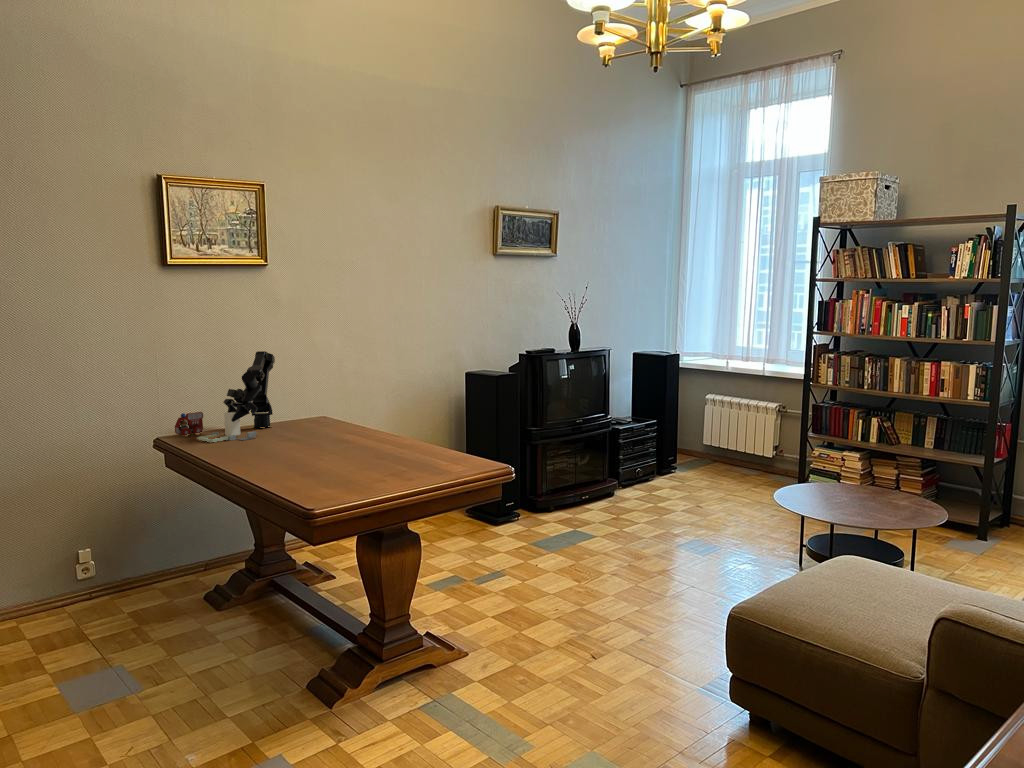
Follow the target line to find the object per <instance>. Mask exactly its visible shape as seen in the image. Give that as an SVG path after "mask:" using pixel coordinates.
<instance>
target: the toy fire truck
mask: <svg viewBox="0 0 1024 768" xmlns="http://www.w3.org/2000/svg"><path fill="white" fill-rule="evenodd" d="M203 418H204V413H203V412H202V411H198V412H197V411H196V412H189V413H181V414H180V417H178V418H177V420H176V422H175V425H174V432H175V434H176V435H179V436H182V435H187V434H190V435H191V434H192V433H200V432H202V433H203V430H204V423H203V421H204V420H203Z"/></svg>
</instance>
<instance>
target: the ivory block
mask: <svg viewBox="0 0 1024 768" xmlns="http://www.w3.org/2000/svg"><path fill="white" fill-rule="evenodd" d="M227 412H228V411H227ZM227 412H223V420H224V433H225V435H224V436H230V435H236V436H241V423H240V422H241V418H239V419H238V420H236V421H234V422H232V421H231V420H232V418H233V416H234V415H235V413H236V412H228V413H227Z"/></svg>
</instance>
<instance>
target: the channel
mask: <svg viewBox="0 0 1024 768" xmlns="http://www.w3.org/2000/svg"><path fill="white" fill-rule="evenodd" d="M213 434H217V435H219V431H215V432H211V433H210V435H213ZM228 437H229V440H228V441H230V440H231V441H236V440H238V441H243V442H245V441H249V440H255V439H256V437H257V431H250V432H246V437H239V438H237V435H230V436H228Z"/></svg>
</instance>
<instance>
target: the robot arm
mask: <svg viewBox="0 0 1024 768" xmlns="http://www.w3.org/2000/svg"><path fill="white" fill-rule="evenodd" d="M275 361H276V360H275V355H274V354H272V353H269V352H268V351H263V350H261V351H255V354H254V359H253V362H252V365H251V366H249V367H248V368H247V369H246V372H244V373H243V374H242V375H241V380H242V383H243V385H244V387H245V388H244V389H242V388H236V389H234V388H228V390H227V393H226V396H227V397H230V398H225V399H224V401H223V404H224V405H226V406H227V408H228V409H227V412H226V413H228V412H236V413H235V415H234V416H233V418H232V420H231V421H232V422H234V421H236V420H238V419H241V418H243V417H245V416H247V415H250V414H251V417H254V419H253V427H256V428H255V429H258V428H260V427H268V426H271V416H273V409H272V405H271V403H270V400H269V398H268V396H267V395H268V387H269V379H270V378H269V377H270V376H269V375H270V372H271V370H272V369H273V368H274V364H275Z"/></svg>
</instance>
